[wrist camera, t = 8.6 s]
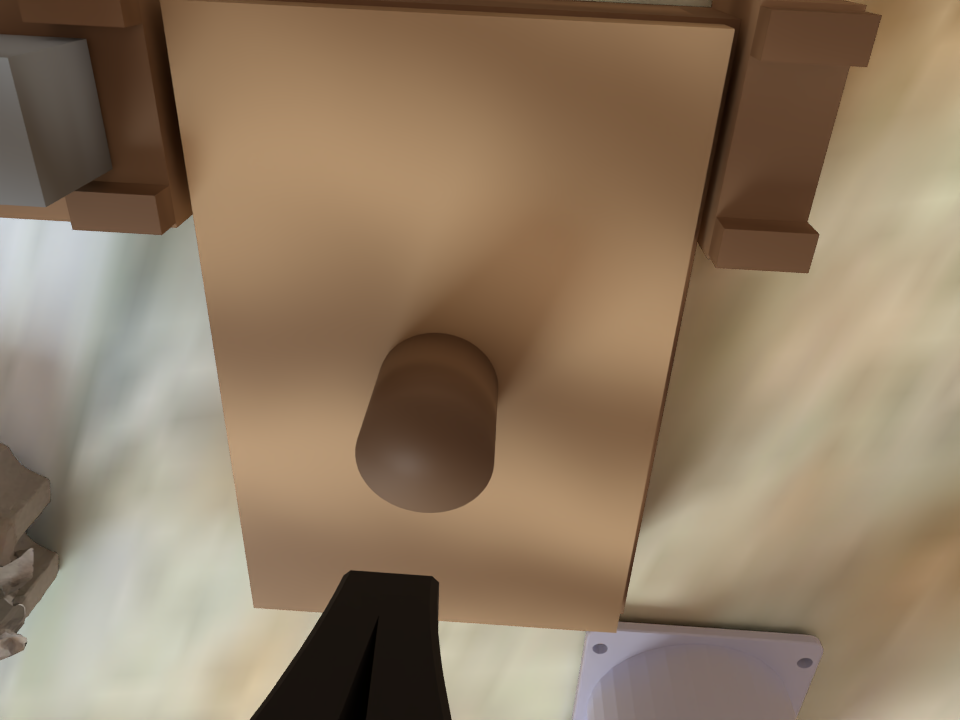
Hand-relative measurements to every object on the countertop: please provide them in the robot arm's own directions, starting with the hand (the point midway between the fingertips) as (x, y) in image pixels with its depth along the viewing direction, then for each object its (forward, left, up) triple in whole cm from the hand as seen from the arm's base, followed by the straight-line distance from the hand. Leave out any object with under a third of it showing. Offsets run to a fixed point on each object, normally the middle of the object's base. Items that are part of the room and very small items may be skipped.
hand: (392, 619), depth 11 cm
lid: (0, 0, -8) cm, 8 cm away
